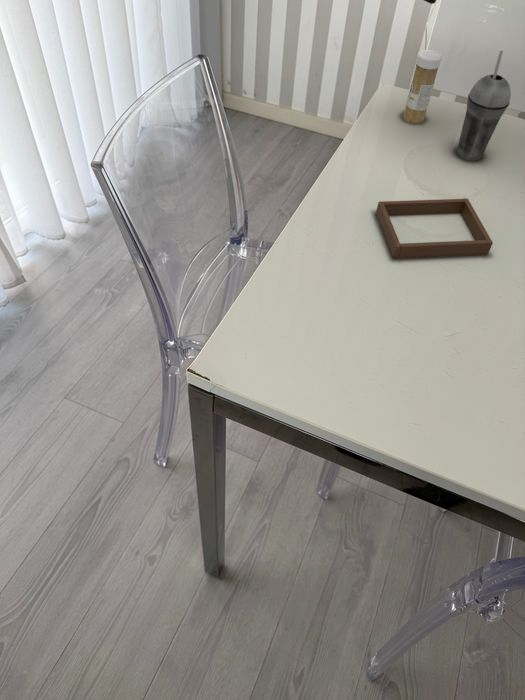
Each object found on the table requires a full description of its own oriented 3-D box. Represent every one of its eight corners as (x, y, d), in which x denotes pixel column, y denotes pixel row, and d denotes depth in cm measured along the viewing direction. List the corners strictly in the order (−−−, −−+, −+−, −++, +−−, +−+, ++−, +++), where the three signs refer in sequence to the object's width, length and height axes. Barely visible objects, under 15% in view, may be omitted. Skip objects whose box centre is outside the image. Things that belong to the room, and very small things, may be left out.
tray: (462, 213, 98) (467, 198, 96) (486, 257, 91) (493, 242, 89) (374, 216, 97) (378, 201, 94) (392, 262, 89) (396, 246, 87)
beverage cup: (495, 161, 109) (537, 53, 94) (469, 172, 107) (509, 63, 91) (466, 143, 113) (503, 37, 98) (441, 153, 110) (475, 46, 95)
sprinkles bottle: (399, 116, 119) (414, 49, 109) (419, 115, 120) (437, 48, 109) (406, 127, 116) (423, 59, 106) (427, 126, 117) (446, 58, 106)
